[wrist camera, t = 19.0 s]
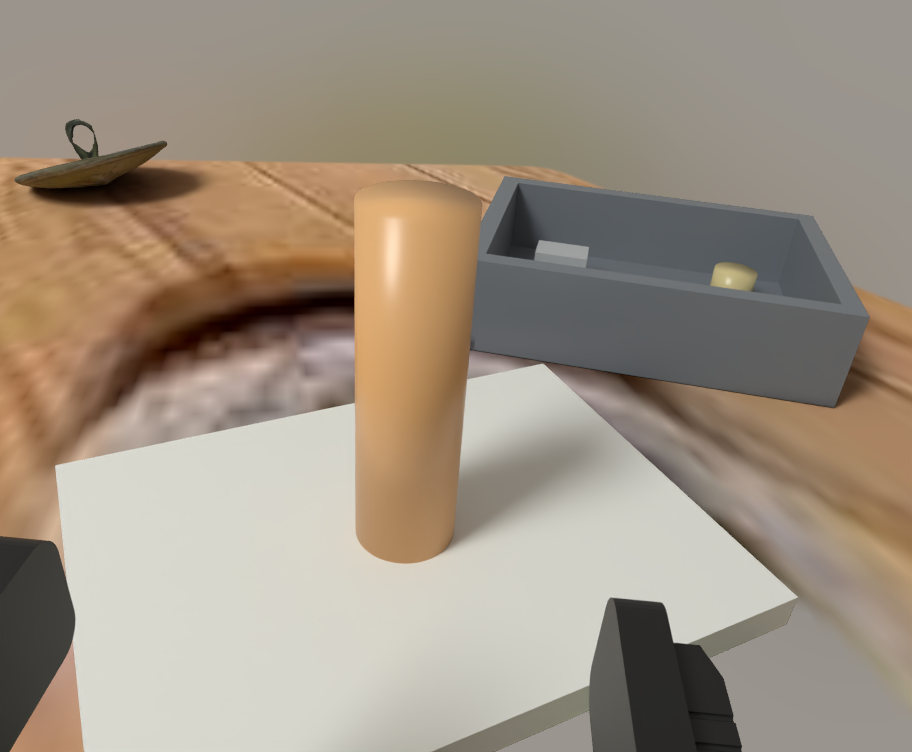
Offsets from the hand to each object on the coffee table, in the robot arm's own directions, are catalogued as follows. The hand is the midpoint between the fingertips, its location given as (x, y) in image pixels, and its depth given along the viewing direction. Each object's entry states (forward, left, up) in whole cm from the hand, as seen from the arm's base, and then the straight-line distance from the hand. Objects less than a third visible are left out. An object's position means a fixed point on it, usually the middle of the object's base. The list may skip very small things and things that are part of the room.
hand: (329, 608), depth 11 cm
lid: (+33, -42, -11) cm, 55 cm away
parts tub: (-6, -35, -11) cm, 37 cm away
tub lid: (+1, -11, -11) cm, 16 cm away
